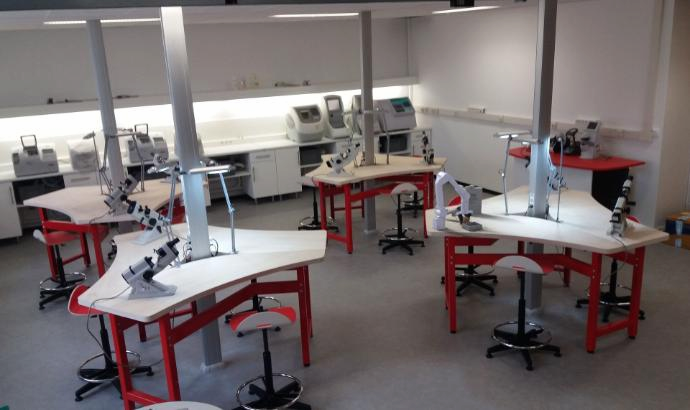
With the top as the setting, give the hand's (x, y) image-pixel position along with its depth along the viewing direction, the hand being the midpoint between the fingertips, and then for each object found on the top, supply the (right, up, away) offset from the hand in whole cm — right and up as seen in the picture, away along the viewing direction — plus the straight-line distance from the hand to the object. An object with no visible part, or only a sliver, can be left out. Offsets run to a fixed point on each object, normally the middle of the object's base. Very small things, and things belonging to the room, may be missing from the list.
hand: (464, 222), depth 452 cm
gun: (-6, +2, +16) cm, 17 cm away
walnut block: (0, -2, 0) cm, 2 cm away
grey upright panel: (+13, +7, +32) cm, 35 cm away
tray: (+4, -4, -9) cm, 11 cm away
